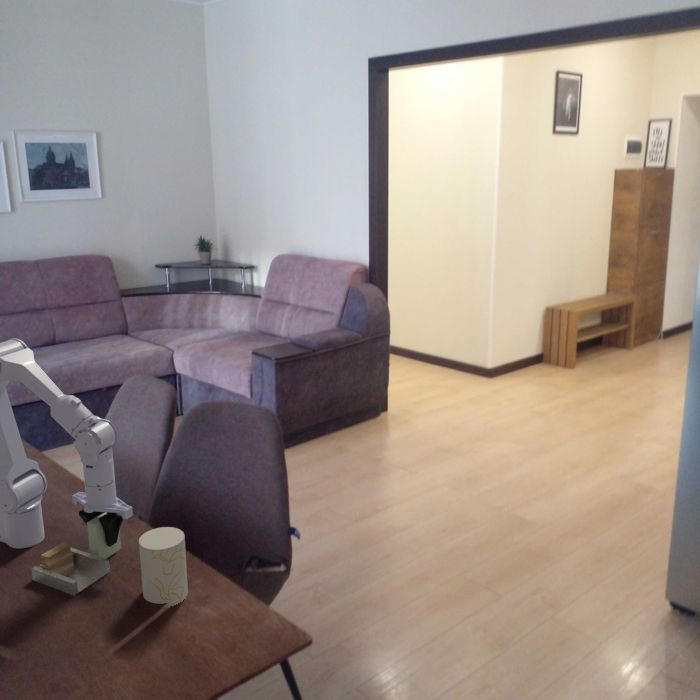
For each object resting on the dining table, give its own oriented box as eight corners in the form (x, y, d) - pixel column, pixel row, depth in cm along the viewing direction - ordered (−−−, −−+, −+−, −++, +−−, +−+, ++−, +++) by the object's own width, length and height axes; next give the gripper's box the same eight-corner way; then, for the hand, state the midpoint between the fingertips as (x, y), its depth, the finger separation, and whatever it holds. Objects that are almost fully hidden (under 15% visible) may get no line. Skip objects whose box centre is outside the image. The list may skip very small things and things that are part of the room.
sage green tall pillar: (90, 562, 143) (86, 522, 140) (112, 548, 148) (109, 509, 145) (99, 565, 141) (96, 525, 139) (121, 551, 147) (118, 512, 144)
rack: (33, 584, 135) (31, 568, 135) (70, 562, 143) (68, 546, 142) (74, 600, 131) (72, 583, 130) (110, 575, 138) (109, 560, 138)
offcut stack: (40, 576, 136) (38, 556, 135) (65, 561, 142) (63, 542, 140) (49, 579, 135) (47, 559, 134) (73, 564, 140) (71, 544, 139)
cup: (154, 613, 127) (150, 554, 124) (136, 593, 133) (131, 536, 130) (195, 597, 132) (192, 539, 129) (176, 578, 138) (172, 522, 135)
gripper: (57, 481, 140) (64, 542, 144) (112, 496, 134) (117, 560, 137) (85, 468, 146) (90, 527, 150) (138, 482, 140) (142, 543, 143)
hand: (105, 541), depth 144 cm, fingers open, 3 cm apart
